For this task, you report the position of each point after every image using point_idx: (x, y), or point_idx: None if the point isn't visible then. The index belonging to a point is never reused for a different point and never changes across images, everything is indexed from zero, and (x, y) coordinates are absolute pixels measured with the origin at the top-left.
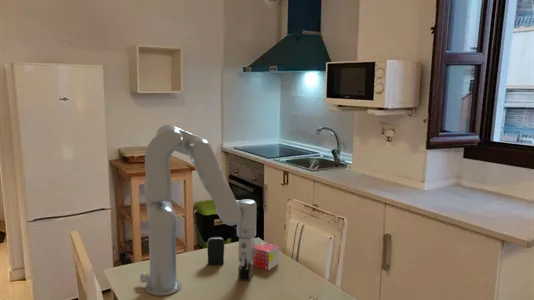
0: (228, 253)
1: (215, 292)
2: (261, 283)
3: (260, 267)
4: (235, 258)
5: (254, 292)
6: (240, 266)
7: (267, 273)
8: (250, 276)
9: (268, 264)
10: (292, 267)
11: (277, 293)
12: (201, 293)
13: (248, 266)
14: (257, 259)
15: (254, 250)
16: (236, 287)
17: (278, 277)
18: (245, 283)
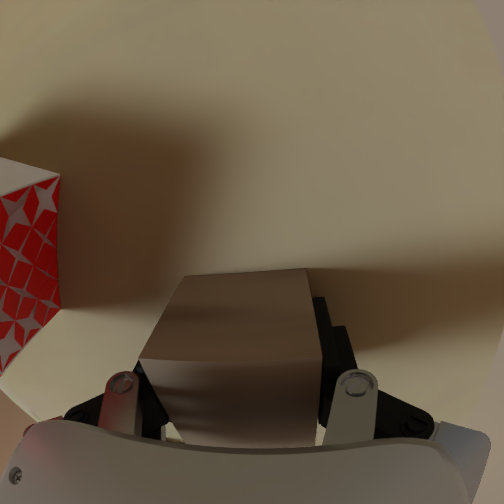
0: (54, 411)
1: (466, 386)
2: (349, 149)
3: (55, 250)
4: (64, 392)
5: (494, 186)
6: (299, 439)
7: (112, 155)
8: (309, 291)
9: (23, 186)
10: (2, 44)
11: (461, 11)
12: (459, 416)
13: (276, 390)
14: (21, 306)
15: (40, 490)
16: (434, 328)
17: (160, 29)
18: (375, 293)
